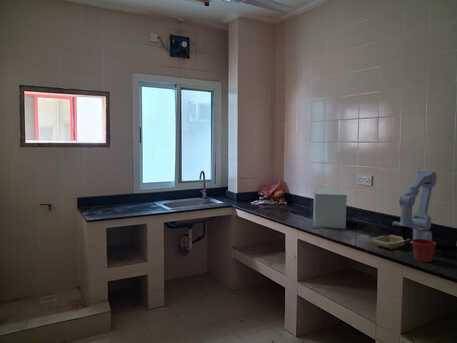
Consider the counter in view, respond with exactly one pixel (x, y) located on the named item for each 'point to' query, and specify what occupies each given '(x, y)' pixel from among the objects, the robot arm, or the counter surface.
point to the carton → (388, 241)
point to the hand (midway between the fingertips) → (405, 239)
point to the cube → (329, 208)
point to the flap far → (377, 237)
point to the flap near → (401, 241)
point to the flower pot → (423, 249)
